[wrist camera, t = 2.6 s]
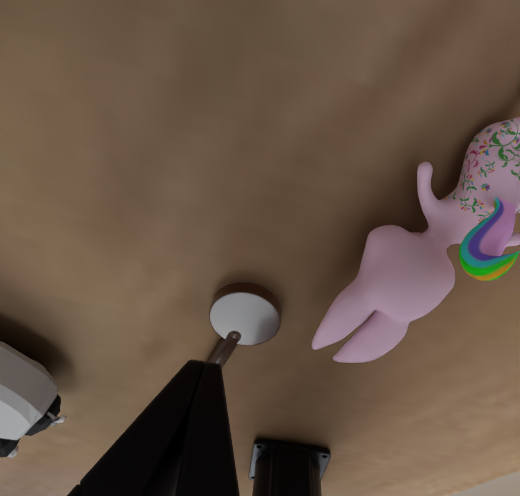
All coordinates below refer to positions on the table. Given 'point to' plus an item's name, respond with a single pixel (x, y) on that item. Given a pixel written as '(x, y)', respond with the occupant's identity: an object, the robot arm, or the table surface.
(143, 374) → the table surface
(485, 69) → the table surface
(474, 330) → the table surface
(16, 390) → the robot toy
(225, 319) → the spoon
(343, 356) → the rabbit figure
